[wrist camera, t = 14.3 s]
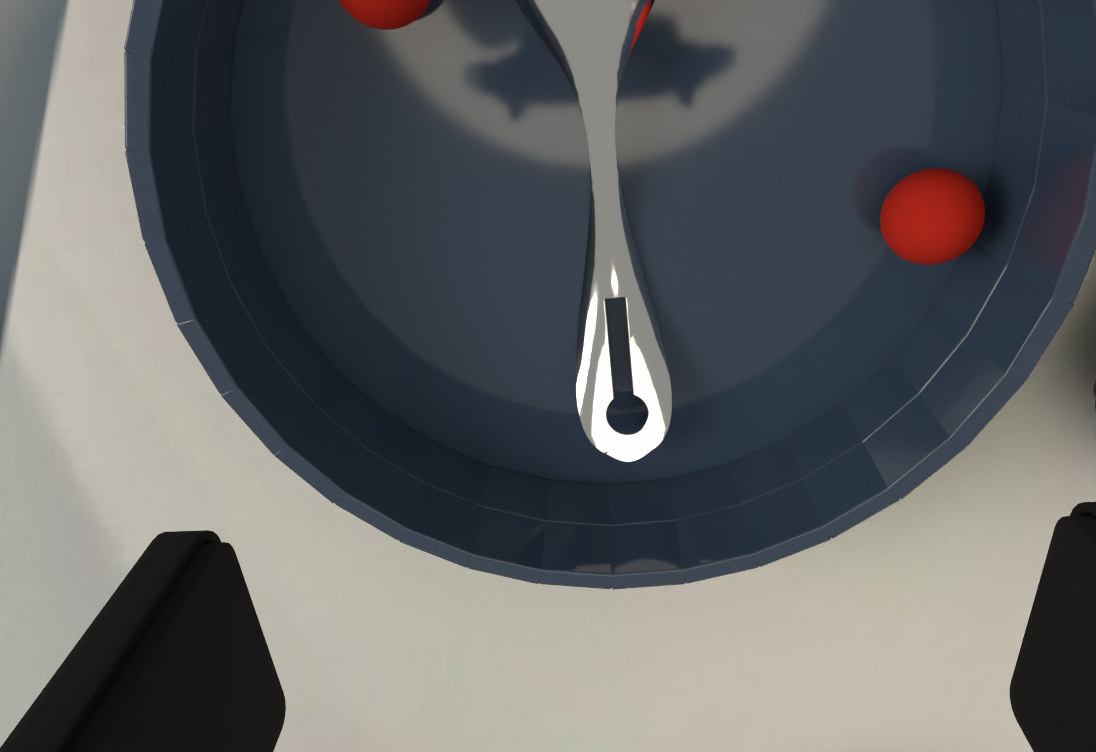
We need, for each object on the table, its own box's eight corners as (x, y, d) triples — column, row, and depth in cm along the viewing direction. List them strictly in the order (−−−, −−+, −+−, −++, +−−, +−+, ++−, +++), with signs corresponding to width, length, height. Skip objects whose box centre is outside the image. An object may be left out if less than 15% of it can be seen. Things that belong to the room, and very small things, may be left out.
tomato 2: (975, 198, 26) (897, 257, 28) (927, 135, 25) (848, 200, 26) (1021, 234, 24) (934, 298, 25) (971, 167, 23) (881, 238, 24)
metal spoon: (700, 487, 28) (565, 497, 28) (689, 437, 31) (568, 446, 31) (667, -209, 19) (477, -179, 20) (657, -178, 23) (493, -153, 23)
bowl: (144, 328, 31) (52, 407, 26) (368, -569, 19) (282, -766, 14) (732, 571, 35) (757, 681, 30) (1211, -33, 23) (1391, -25, 18)
